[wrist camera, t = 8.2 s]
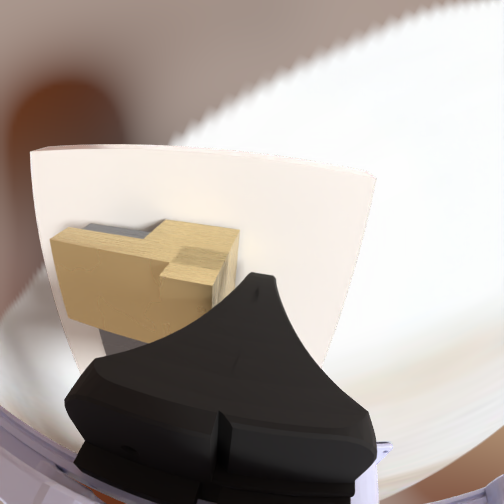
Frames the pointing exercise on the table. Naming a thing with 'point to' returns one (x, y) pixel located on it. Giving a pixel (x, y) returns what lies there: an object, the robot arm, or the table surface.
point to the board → (215, 219)
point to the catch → (145, 276)
